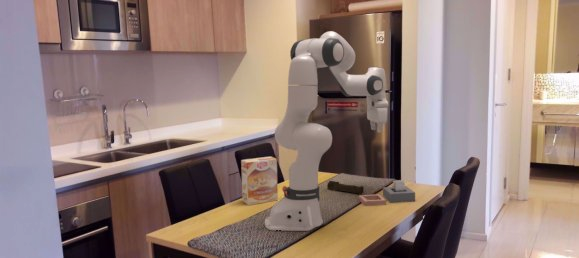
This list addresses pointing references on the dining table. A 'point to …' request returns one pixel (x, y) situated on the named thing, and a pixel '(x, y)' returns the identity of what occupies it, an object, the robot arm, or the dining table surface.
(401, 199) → the socket block
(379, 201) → the pink square tray
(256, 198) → the coffeecake box
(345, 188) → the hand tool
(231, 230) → the dining table surface
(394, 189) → the spigot
